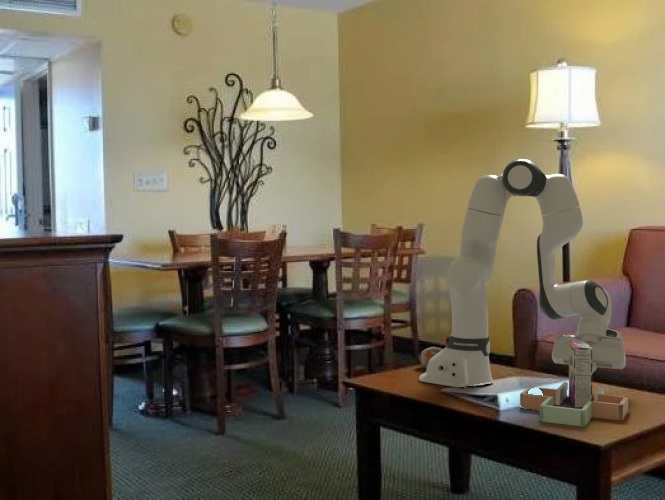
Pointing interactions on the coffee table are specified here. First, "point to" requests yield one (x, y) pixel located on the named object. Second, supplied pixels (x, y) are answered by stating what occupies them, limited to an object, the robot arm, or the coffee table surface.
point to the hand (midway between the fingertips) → (585, 376)
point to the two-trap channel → (598, 408)
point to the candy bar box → (580, 373)
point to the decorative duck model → (428, 355)
